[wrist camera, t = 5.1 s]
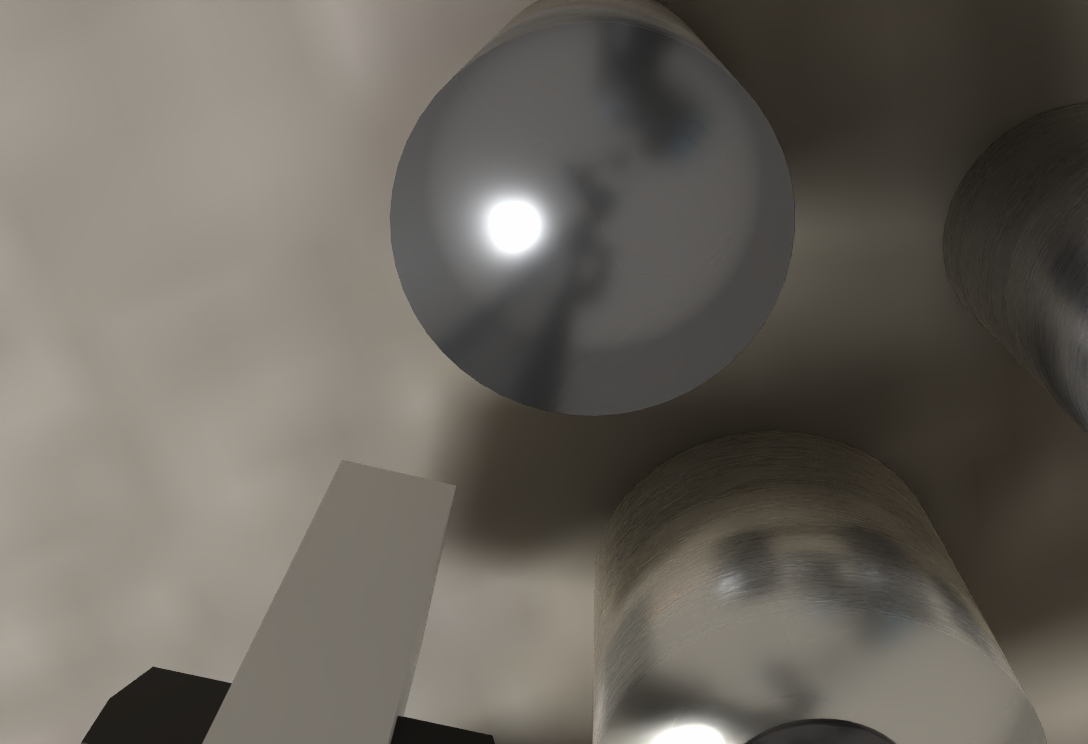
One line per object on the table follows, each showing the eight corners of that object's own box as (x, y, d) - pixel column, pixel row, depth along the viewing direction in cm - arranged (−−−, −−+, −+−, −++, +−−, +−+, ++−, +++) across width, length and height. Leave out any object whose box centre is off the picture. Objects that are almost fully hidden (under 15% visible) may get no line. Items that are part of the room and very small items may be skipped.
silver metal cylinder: (642, 394, 13) (656, 573, 10) (990, 471, 14) (1137, 676, 10) (562, 670, 15) (548, 906, 12) (866, 734, 16) (947, 986, 12)
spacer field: (497, -42, 11) (425, -23, 7) (1720, 246, 12) (2430, 448, 7) (335, 854, 17) (240, 1183, 13) (1140, 1014, 18) (1323, 1383, 13)
